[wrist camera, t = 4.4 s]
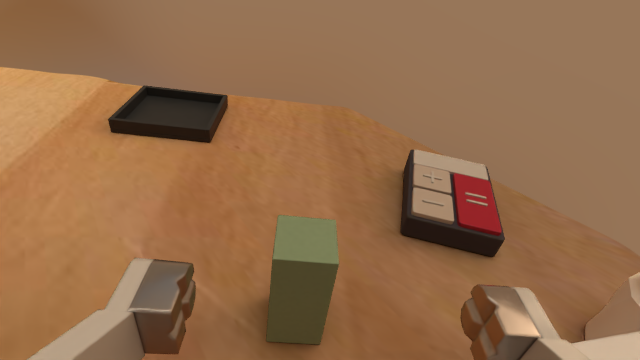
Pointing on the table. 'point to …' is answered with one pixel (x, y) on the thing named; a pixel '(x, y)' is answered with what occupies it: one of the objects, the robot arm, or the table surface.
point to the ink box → (612, 347)
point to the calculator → (450, 203)
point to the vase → (618, 312)
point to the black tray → (170, 114)
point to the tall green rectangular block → (301, 279)
